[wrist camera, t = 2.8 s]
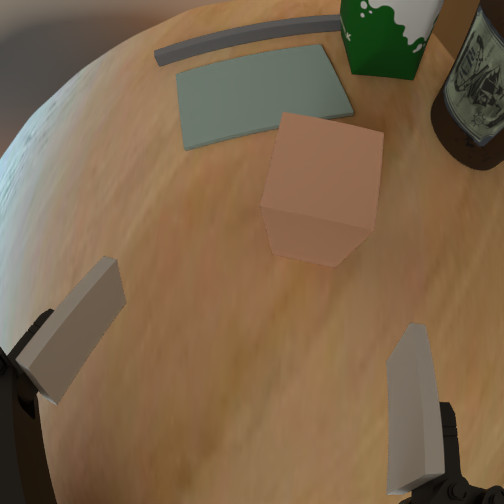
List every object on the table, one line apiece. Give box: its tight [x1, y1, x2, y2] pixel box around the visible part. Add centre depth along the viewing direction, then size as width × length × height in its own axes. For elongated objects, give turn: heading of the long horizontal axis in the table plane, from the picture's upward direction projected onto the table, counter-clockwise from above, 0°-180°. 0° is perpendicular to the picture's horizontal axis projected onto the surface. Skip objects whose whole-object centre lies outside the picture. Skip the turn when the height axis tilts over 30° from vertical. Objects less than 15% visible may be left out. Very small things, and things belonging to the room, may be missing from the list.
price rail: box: [154, 14, 341, 67], centre depth 29 cm, size 28×1×2 cm, turn 102°
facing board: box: [176, 44, 354, 151], centre depth 28 cm, size 16×10×1 cm, turn 102°
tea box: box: [260, 112, 384, 268], centre depth 19 cm, size 5×5×12 cm
